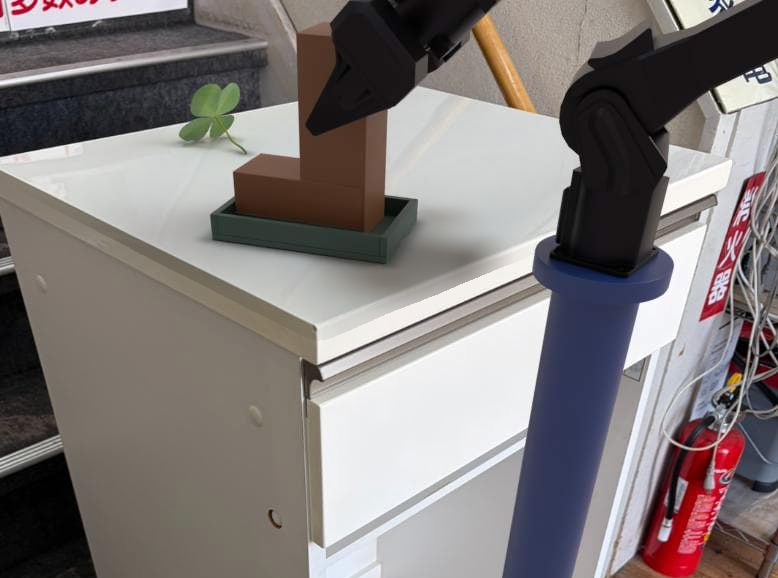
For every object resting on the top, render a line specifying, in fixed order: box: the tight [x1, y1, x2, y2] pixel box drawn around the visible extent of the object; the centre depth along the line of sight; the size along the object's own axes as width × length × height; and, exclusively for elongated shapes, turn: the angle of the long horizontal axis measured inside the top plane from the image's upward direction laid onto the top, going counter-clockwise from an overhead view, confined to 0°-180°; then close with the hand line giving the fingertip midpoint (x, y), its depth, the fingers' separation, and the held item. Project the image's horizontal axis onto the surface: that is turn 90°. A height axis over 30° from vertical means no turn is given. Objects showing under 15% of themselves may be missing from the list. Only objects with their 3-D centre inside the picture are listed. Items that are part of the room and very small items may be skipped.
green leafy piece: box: [178, 81, 248, 155], centre depth 86 cm, size 7×8×7 cm
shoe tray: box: [209, 194, 419, 264], centre depth 69 cm, size 15×10×2 cm, turn 74°
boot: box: [232, 21, 389, 233], centre depth 66 cm, size 11×6×14 cm, turn 72°
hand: (330, 115), depth 64 cm, fingers open, 9 cm apart
